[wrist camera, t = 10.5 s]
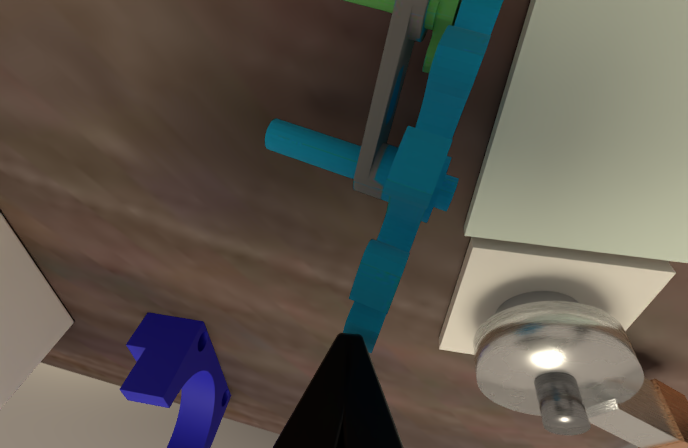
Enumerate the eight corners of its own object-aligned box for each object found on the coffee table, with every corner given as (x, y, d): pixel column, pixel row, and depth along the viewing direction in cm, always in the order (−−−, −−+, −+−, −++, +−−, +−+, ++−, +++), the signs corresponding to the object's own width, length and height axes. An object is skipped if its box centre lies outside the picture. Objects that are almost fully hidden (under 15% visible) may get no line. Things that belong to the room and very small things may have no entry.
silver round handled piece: (733, 380, 20) (798, 482, 16) (608, 418, 24) (638, 505, 20) (547, 269, 17) (578, 363, 13) (445, 335, 21) (448, 419, 18)
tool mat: (1072, -198, 8) (1108, -203, 8) (685, 254, 17) (692, 263, 17) (588, -194, 9) (596, -200, 9) (463, 227, 19) (464, 235, 18)
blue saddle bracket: (149, 310, 29) (98, 385, 24) (204, 319, 28) (163, 397, 24) (187, 385, 37) (154, 453, 32) (231, 393, 36) (204, 463, 32)
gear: (426, 236, 18) (366, 437, 10) (312, 195, 19) (176, 347, 11) (538, -43, 12) (622, -108, 4) (358, -83, 13) (112, -199, 5)
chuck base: (667, 260, 18) (694, 300, 16) (585, 360, 24) (597, 398, 22) (471, 236, 19) (476, 271, 17) (438, 338, 25) (439, 372, 23)
